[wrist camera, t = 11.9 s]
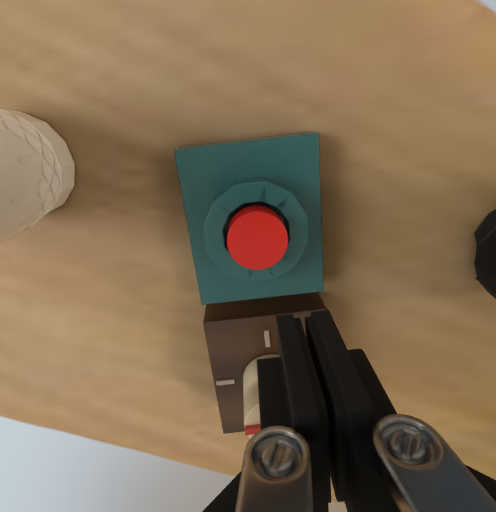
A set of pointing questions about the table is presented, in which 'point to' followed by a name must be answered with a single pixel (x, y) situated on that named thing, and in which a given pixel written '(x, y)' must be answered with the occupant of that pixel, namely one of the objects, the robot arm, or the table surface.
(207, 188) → the button block
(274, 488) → the robot arm
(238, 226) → the button
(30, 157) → the white cup
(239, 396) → the dial panel
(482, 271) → the portable speaker
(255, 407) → the dial
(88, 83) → the table surface
